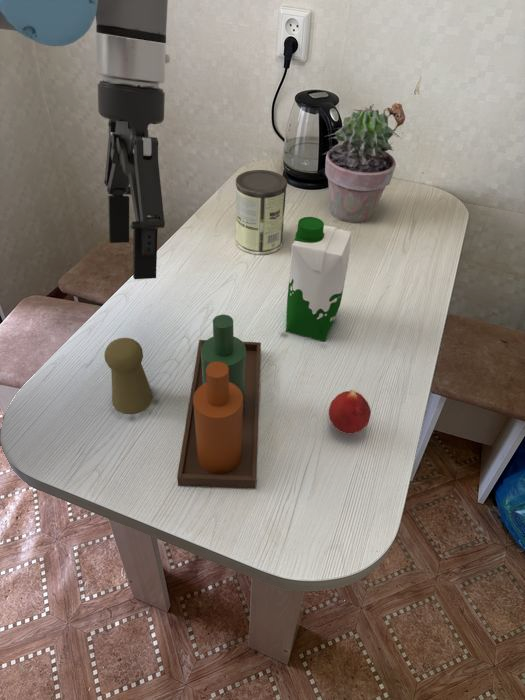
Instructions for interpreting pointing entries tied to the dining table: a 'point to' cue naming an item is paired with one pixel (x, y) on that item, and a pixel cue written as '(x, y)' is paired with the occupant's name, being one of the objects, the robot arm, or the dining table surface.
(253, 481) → the tray
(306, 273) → the milk carton
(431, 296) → the dining table surface
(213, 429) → the amber bottle
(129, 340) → the cork
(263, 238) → the coffee can
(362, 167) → the potted plant
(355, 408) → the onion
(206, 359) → the green bottle
